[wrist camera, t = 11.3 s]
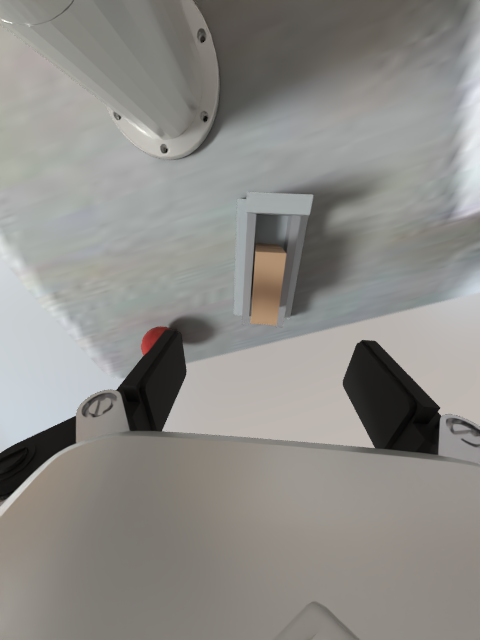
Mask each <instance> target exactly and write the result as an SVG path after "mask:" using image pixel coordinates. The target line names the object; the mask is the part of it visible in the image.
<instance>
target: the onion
mask: <svg viewBox="0 0 480 640" xmlns="http://www.w3.org/2000/svg"><path fill="white" fill-rule="evenodd" d="M166 329H170V328H167V327H156V328H153V329H151V330H149V331H148V332H147V333H146V334H145V336H144V337H143V340H142V344H141V349H142V353H143V355H145V354H146V353H147V352H148V351H149V350H150V348H151V347H152V346H153V345H154V343H155V342H156V341H157V340H158V338H159V337H160V336H161V335H162V333H163V332H164V331H165V330H166Z"/></svg>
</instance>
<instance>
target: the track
mask: <svg viewBox="0 0 480 640" xmlns="http://www.w3.org/2000/svg"><path fill="white" fill-rule="evenodd" d="M312 200H313V195H309V194H285V193H260V192H247V196H246V199H237V219H236V253H235V287H234V315H240V316H242V325H248V324H249V316H251V310H252V293H253V278H254V263H255V249H256V243H266V244H279V245H280V247H281V248H282V249H283V250H284V251H285V252H286V261H285V268H284V275H283V282H282V289H281V297H280V304H279V311H278V318H277V325H275V326H276V327H281V328H283V322H284V319H290V316H291V310H292V304H293V299H294V293H295V288H296V282H297V277H298V271H299V266H300V260H301V255H302V249H303V244H304V238H305V232H306V227H307V221H308V216H309V215H310V211H311V206H312Z"/></svg>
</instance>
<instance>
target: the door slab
mask: <svg viewBox="0 0 480 640" xmlns="http://www.w3.org/2000/svg"><path fill="white" fill-rule="evenodd" d="M285 261H286V252H285V251H284V250H283V249H282V248H281V247H280V245H279V244H266V243H256V249H255V263H254V278H253V293H252V310H251V323H252V324H267V325H277V318H278V311H279V304H280V297H281V289H282V282H283V275H284V268H285Z"/></svg>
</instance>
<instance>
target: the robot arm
mask: <svg viewBox="0 0 480 640" xmlns="http://www.w3.org/2000/svg"><path fill="white" fill-rule="evenodd" d="M0 25H2V26H3V27H4V28H6V29H7V30H8V31H10V32H11V33H12V34H13V35H15V36H16V37H17V38H19V39H20V40H21V41H23V42H24V43H25V44H27V45H28V46H29V47H31V48H32V49H33V50H34V51H36V52H37V53H38V54H40V55H41V56H42V57H44V58H45V59H46V60H48V61H49V62H50V63H52V64H53V65H54V66H55V67H57V68H58V69H59V70H61V71H62V72H63V73H65V74H66V75H67V76H69V77H70V78H71V79H73V80H74V81H75V82H77V83H78V84H79V85H80V86H82V87H83V88H84V89H86V90H87V91H88V92H90V93H91V94H92V95H94V96H95V97H96V98H98V99H99V100H100V101H101V102H103V103H104V104H105V105H106V108H107V110H108V112H109V114H110V115H111V117H112V119H113V121H114V123H115V124H116V126H117V127H118V128H119V130H120V131H121V132H122V134H123V135H124V136H125V137H126V138H127V139H128V140H129V141H130V142H131V143H132V144H133V145H135V146H136V147H137V148H139V149H140V150H142V151H143V152H145V153H147V154H149V155H150V156H153V157H156V158H159V159H166V160H173V159H180V158H182V157H185V156H187V155H189V154H191V153H192V152H193V151H194V150H196V149H197V148H198V147H199V146H200V145H201V144H202V142H203V141H204V140H205V139H206V137H207V135H208V133H209V132H210V130H211V128H212V125H213V122H214V119H215V117H216V113H217V108H218V103H219V90H220V80H219V67H218V62H217V57H216V52H215V48H214V44H213V41H212V37H211V34H210V31H209V29H208V27H207V24H206V22H205V20H204V17H203V16H202V14H201V12H200V11H199V9H198V7H197V6H196V4H195V2H194V1H193V0H0ZM203 40H205V42H203V43H202V41H203ZM205 118H208V120H207V122H204V119H205ZM166 149H168V152H167V153H166V152H165V150H166ZM185 376H186V364H185V357H184V350H183V343H182V336H181V333H180V332H178V331H177V330H173V329H166V330H165V331H164V332H163V333H162V335H161V336H160V337H159V338H158V340H157V341H156V342H155V343H154V345H153V346H152V347H151V348H150V350H149V351H148V352H147V353H146V354H145V355H144V356H143V357H142V359H141V360H140V361H139V362H138V364H137V365H136V366H135V367H134V369H133V370H132V371H131V372H130V374H129V375H128V376H127V377H126V379H125V380H124V381H123V382H122V384H121V385H120V386H119V387H118V389H117V390H104V391H100V392H97V393H95V394H93V395H91V396H90V397H88V398H87V399H86V400H85V401H84V402H83V403H81V405H80V406H79V408H78V409H77V413H76V416H75V417H72V418H70V419H68V420H66V421H64V422H62V423H60V424H57V425H55V426H53V427H51V428H49V429H47V430H45V431H42V432H40V433H38V434H36V435H34V436H32V437H30V438H27V439H26V440H23V441H21V442H19V443H17V444H15V445H13V446H11V447H9V448H7V449H6V450H4V451H3V452H1V453H0V640H480V426H478V425H477V424H475V423H473V422H471V421H469V420H467V419H465V418H462V417H460V416H456V415H452V414H445V415H443V416H441V415H440V414H439V413H438V410H439V409H440V407H439V406H438V405H437V404H436V403H435V402H434V401H433V400H432V399H431V398H430V397H429V396H428V395H427V394H426V393H425V392H424V391H423V389H421V387H420V386H419V385H418V384H417V383H416V382H415V381H414V380H413V379H412V378H411V377H410V376H409V375H408V374H407V373H406V372H405V371H404V370H403V369H402V368H401V367H400V366H399V365H398V364H397V363H396V362H395V361H394V360H393V358H392V357H391V356H390V355H389V354H388V353H387V352H386V351H385V350H384V349H383V348H382V347H381V346H380V345H379V344H378V343H377V342H376V341H368V340H362V341H361V342H360V343H357V345H356V347H355V350H354V353H353V355H352V358H351V361H350V363H349V366H348V369H347V371H346V374H345V377H344V379H343V387H344V389H345V391H346V393H347V394H348V396H349V399H350V400H351V402H352V404H353V406H354V408H355V410H356V412H357V414H358V416H359V418H360V420H361V422H362V424H363V425H364V427H365V429H366V431H367V433H368V435H369V437H370V439H371V441H372V442H373V445H374V447H375V448H365V447H354V446H343V445H331V444H319V443H308V442H295V441H283V440H271V439H258V438H246V437H234V436H220V435H208V434H195V433H179V432H162V429H163V427H164V424H165V422H166V420H167V418H168V416H169V413H170V411H171V408H172V406H173V404H174V401H175V399H176V397H177V395H178V392H179V390H180V388H181V386H182V383H183V381H184V379H185Z"/></svg>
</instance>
